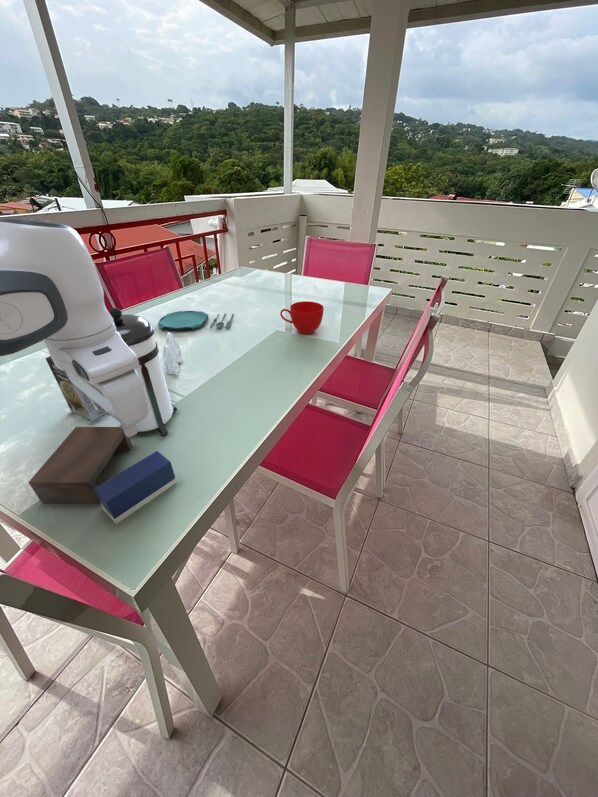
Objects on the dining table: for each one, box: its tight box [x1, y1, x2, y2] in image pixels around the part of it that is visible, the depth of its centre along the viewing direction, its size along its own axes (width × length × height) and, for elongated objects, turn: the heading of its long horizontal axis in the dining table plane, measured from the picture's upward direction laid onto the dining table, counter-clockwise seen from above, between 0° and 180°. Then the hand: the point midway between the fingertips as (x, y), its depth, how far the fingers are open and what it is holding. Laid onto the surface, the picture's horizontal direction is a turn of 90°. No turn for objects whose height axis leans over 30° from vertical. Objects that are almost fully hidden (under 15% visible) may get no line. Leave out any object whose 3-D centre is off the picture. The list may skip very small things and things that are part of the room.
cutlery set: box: [157, 310, 235, 330], centre depth 138 cm, size 20×30×2 cm, turn 89°
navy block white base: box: [94, 450, 179, 525], centre depth 64 cm, size 13×5×6 cm, turn 141°
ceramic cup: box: [279, 300, 325, 335], centre depth 130 cm, size 13×17×10 cm
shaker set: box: [162, 332, 183, 377], centre depth 105 cm, size 12×4×11 cm, turn 8°
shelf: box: [28, 426, 134, 504], centre depth 69 cm, size 11×16×6 cm
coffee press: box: [109, 307, 178, 437], centre depth 77 cm, size 17×16×30 cm
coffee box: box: [45, 355, 108, 422], centre depth 84 cm, size 9×6×16 cm
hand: (116, 421), depth 55 cm, fingers open, 8 cm apart
